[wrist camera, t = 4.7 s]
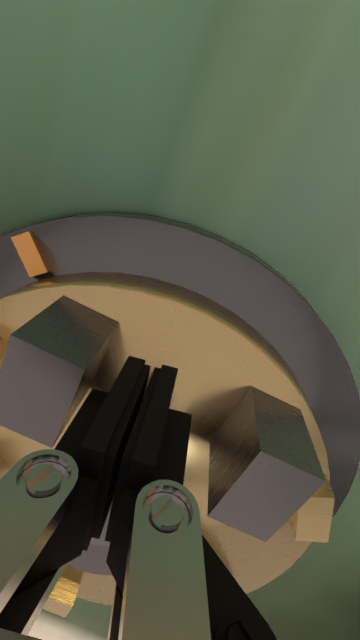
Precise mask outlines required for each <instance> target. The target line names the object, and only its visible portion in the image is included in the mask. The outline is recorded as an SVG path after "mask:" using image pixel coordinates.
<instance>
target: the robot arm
mask: <svg viewBox="0 0 360 640" xmlns="http://www.w3.org/2000/svg"><path fill="white" fill-rule="evenodd" d="M150 367H151V366H149V365H145V360H144V359H140V358H136V357H132V356H129V357H128V358H127V360H126V362H125V364H124V366H123V367H122V369H121V371H120V373H119V375H118V377H117V379H116V380H115V382H114V384H113V386H112V388H111V390H110V392H105V391H101V390H97V389H92V391H91V392H90V393H89V395H88V396H87V398H86V400H85V401H84V403H83V404H82V406H81V408H80V409H79V411H78V412H77V414H76V416H75V417H74V419H73V420H72V422H71V423H70V425H69V427H68V428H67V430H66V431H65V433H64V435H63V436H62V438H61V439H60V441H59V442H58V444H57V446H56V447H55V449H43V450H39V451H34V452H32V453H30V454H28V455H26V456H24V457H23V458H22V459H20V460H19V461H18V462H17V463H16V464H15V465H14V466H13V467H12V468H11V469H10V470H9V471H8V472H7V473H6V474H5V475H4V476H3V477H2V478H1V479H0V640H41V639H37V638H33V637H30V636H27V635H28V633H29V631H30V630H31V628H32V626H33V624H34V622H35V621H36V619H37V617H38V615H39V614H40V612H41V610H42V608H43V606H44V605H45V603H46V601H47V599H48V598H49V596H50V594H51V592H52V590H53V589H54V587H55V585H56V583H57V582H58V580H59V578H60V576H61V575H62V572H63V570H64V567H65V565H66V563H68V562H70V561H72V560H73V559H75V558H77V557H79V556H80V555H81V554H82V551H83V550H84V551H87V549H88V547H89V544H90V541H91V539H92V537H93V538H96V539H99V538H100V536H101V533H102V530H103V527H104V524H105V522H106V519H107V516H108V513H109V510H110V507H111V504H112V507H111V512H110V517H109V522H108V526H107V531H106V536H105V541H108V542H110V546H109V550H108V555H107V559H106V563H107V565H108V567H109V569H110V571H111V573H112V575H113V577H114V579H115V581H116V583H115V587H114V594H113V602H112V609H111V617H110V625H109V632H108V640H279V639H277V638H276V637H275V635H274V633H273V632H272V630H271V628H270V627H269V625H268V623H267V622H266V621H265V619H264V618H263V617H262V615H261V614H260V613H259V611H258V610H257V608H256V607H255V606H254V604H253V603H252V602H251V600H250V599H249V598H248V596H247V595H246V593H245V592H244V591H243V589H242V588H241V587H240V585H239V584H238V583H237V581H236V580H235V578H234V577H233V576H232V574H231V573H230V572H229V570H228V569H227V568H226V566H225V565H224V563H223V562H222V561H221V559H220V558H219V557H218V555H217V554H216V553H215V551H214V550H213V548H212V547H211V546H210V544H209V543H208V542H207V540H206V539H205V538H204V536H203V535H202V531H201V520H200V511H199V507H198V503H197V501H196V499H195V497H194V496H193V494H192V493H191V492H190V491H189V490H188V489H187V488H186V487H185V486H183V483H184V475H185V467H186V459H187V451H188V443H189V435H190V428H191V420H192V414H189V413H185V412H181V411H177V410H173V409H170V408H169V407H170V402H171V398H172V394H173V389H174V385H175V381H176V377H177V372H178V368H175V367H171V366H167V365H163V364H162V367H161V368H157V367H155V368H154V370H153V373H152V376H151V379H150V381H149V384H148V387H147V390H146V385H147V381H148V376H149V372H150ZM145 390H146V392H145ZM144 394H145V395H144ZM112 501H113V502H112Z"/></svg>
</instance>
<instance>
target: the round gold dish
mask: <svg viewBox="0 0 360 640" xmlns="http://www.w3.org/2000/svg"><path fill="white" fill-rule="evenodd" d="M129 356H132V357H136V358H140V359H144V360H145V365H149V366H151V367H150V372H149V376H148V381H147V385H146V390H147V387H148V384H149V381H150V379H151V376H152V373H153V370H154V368H155V367H157V368H161V367H162V364H163V365H167V366H171V367H175V368H178V372H177V377H176V381H175V385H174V389H173V394H172V398H171V402H170V407H169V408H170V409H173V410H177V411H181V412H185V413H189V414H192V420H191V428H190V435H189V443H188V451H187V459H186V467H185V475H184V483H183V486H185V487H186V488H187V489H188V490H189V491H190V492H191V493H192V494H193V496H194V497H195V499H196V501H197V503H198V507H199V511H200V520H201V531H202V535H203V536H204V538H205V539H206V540H207V542H208V543H209V544H210V546H211V547H212V548H213V550H214V551H215V553H216V554H217V555H218V557H219V558H220V559H221V561H222V562H223V563H224V565H225V566H226V568H227V569H228V570H229V572H230V573H231V574H232V576H233V577H234V578H235V580H236V581H237V583H238V584H239V585H240V587H241V588H242V589H243V591H244V592H245V593H246V594H248V593H250V592H252V591H255V590H257V589H259V588H260V587H262V586H264V585H266V584H267V583H269V582H271V581H273V580H274V579H276V578H277V577H278V576H280V575H281V574H282V573H283V572H285V571H286V570H287V569H289V568H290V567H291V566H292V565H293V564H294V563H295V562H296V561H297V560H298V559H299V558H300V557H301V556H302V555H303V553H304V552H305V551H306V549H307V548H308V547H309V545H310V544H311V542H325V543H328V540H329V534H330V527H331V521H332V514H333V508H334V501H335V497H334V494H333V491H332V488H331V486H330V473H329V466H328V459H327V452H326V449H325V446H324V443H323V440H322V437H321V434H320V431H319V428H318V425H317V423H316V420H315V418H314V415H313V413H312V410H311V408H310V405H309V403H308V400H307V398H306V396H305V393H304V391H303V390H302V388H301V386H300V384H299V382H298V380H297V378H296V376H295V374H294V372H293V371H292V370H291V368H290V367H289V366H288V364H287V363H286V362H285V360H284V359H283V358H282V356H281V355H280V353H279V352H278V351H277V350H276V349H275V348H274V347H273V346H272V345H271V344H270V343H269V342H268V341H267V340H266V339H265V338H264V337H263V336H262V335H261V334H260V333H259V332H258V331H257V330H256V329H255V328H253V327H252V326H251V325H249V324H248V323H247V322H245V321H244V320H243V319H242V318H240V317H239V316H238V315H236V314H235V313H233V312H232V311H230V310H228V309H227V308H225V307H223V306H221V305H220V304H218V303H216V302H215V301H213V300H211V299H209V298H207V297H205V296H203V295H200V294H198V293H196V292H193V291H191V290H189V289H186V288H184V287H181V286H179V285H175V284H172V283H168V282H165V281H161V280H158V279H154V278H151V277H145V276H139V275H132V274H125V273H119V272H83V273H74V274H66V275H59V276H55V277H51V278H47V279H43V280H39V281H36V282H32V283H30V284H28V285H25V286H23V287H21V288H19V289H16V290H14V291H12V292H9V293H8V294H6V295H4V296H2V297H0V479H1V478H2V477H3V476H4V475H5V474H6V473H7V472H8V471H9V470H10V469H11V468H12V467H13V466H14V465H15V464H16V463H17V462H18V461H19V460H20V459H22V458H23V457H24V456H26V455H28V454H30V453H32V452H34V451H39V450H43V449H55V447H56V446H57V444H58V442H59V441H60V439H61V438H62V436H63V435H64V433H65V431H66V430H67V428H68V427H69V425H70V423H71V422H72V420H73V419H74V417H75V416H76V414H77V412H78V411H79V409H80V408H81V406H82V404H83V403H84V401H85V400H86V398H87V396H88V395H89V393H90V392H91V391H92V389H97V390H101V391H105V392H110V390H111V388H112V386H113V384H114V382H115V380H116V379H117V377H118V375H119V373H120V371H121V369H122V367H123V366H124V364H125V362H126V360H127V358H128V357H129ZM146 390H145V392H146ZM144 395H145V394H144ZM112 502H113V501H112ZM111 507H112V504H111ZM111 507H110V510H109V513H108V516H107V519H106V522H105V524H104V527H103V530H102V533H101V536H100V538H99V539H96V538H93V537H92V539H91V541H90V544H89V547H88V549H87V551H84V550H83V551H82V554H81V555H80V556H79V557H77V558H75V559H73V560H72V561H70V562H68V563H66V565H65V567H64V570H63V572H62V575H61V576H60V578H59V580H58V582H57V583H56V585H55V587H54V589H53V590H52V592H51V594H50V596H49V598H48V599H47V601H46V603H45V605H44V606H43V608H42V609H44V610H47V611H49V612H52V613H54V614H57V615H59V616H62V617H64V618H65V617H66V616H67V614H68V613H69V611H70V610H71V608H72V606H73V604H74V601H75V598H76V597H77V598H81V599H84V600H88V601H91V602H95V603H100V604H105V605H110V606H112V602H113V594H114V587H115V583H116V581H115V579H114V577H113V575H112V573H111V571H110V569H109V567H108V565H107V563H106V559H107V555H108V550H109V546H110V542H108V541H105V536H106V531H107V526H108V522H109V517H110V512H111Z"/></svg>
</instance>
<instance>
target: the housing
mask: <svg viewBox="0 0 360 640" xmlns="http://www.w3.org/2000/svg"><path fill="white" fill-rule="evenodd" d="M83 272H119V273H125V274H132V275H139V276H145V277H151V278H154V279H158V280H161V281H165V282H168V283H172V284H175V285H179V286H181V287H184V288H186V289H189V290H191V291H193V292H196V293H198V294H200V295H203V296H205V297H207V298H209V299H211V300H213V301H215V302H216V303H218V304H220V305H221V306H223V307H225V308H227V309H228V310H230V311H232V312H233V313H235V314H236V315H238V316H239V317H240V318H242V319H243V320H244V321H245V322H247V323H248V324H249V325H251V326H252V327H253V328H255V329H256V330H257V331H258V332H259V333H260V334H261V335H262V336H263V337H264V338H265V339H266V340H267V341H268V342H269V343H270V344H271V345H272V346H273V347H274V348H275V349H276V350H277V351H278V352H279V353H280V355H281V356H282V358H283V359H284V360H285V362H286V363H287V364H288V366H289V367H290V368H291V370H292V371H293V372H294V374H295V376H296V378H297V380H298V382H299V384H300V386H301V388H302V390H303V391H304V393H305V396H306V398H307V400H308V403H309V405H310V408H311V410H312V413H313V415H314V418H315V420H316V423H317V425H318V428H319V431H320V434H321V437H322V440H323V443H324V446H325V449H326V452H327V459H328V466H329V473H330V486H331V488H332V491H333V494H334V497H335V501H334V508H333V514H332V517H333V516H334V515H335V513H336V512H337V510H338V509H339V507H340V506H341V504H342V502H343V501H344V499H345V497H346V496H347V494H348V492H349V490H350V487H351V485H352V482H353V480H354V477H355V474H356V472H357V468H358V463H359V458H360V401H359V394H358V391H357V388H356V385H355V382H354V379H353V376H352V373H351V370H350V367H349V365H348V363H347V361H346V359H345V357H344V355H343V353H342V352H341V350H340V348H339V346H338V344H337V342H336V340H335V338H334V337H333V335H332V334H331V333H330V331H329V330H328V329H327V327H326V326H325V324H324V323H323V322H322V320H321V319H320V318H319V316H318V315H317V314H316V312H315V311H314V310H313V308H312V307H311V306H310V305H309V303H308V302H307V301H306V299H305V298H304V297H303V296H302V295H301V294H300V293H299V292H298V291H297V290H296V289H295V288H294V287H293V286H292V285H291V284H290V283H289V282H288V281H287V280H286V279H285V278H284V277H283V276H282V275H281V274H280V273H278V272H277V271H276V270H274V269H273V268H272V267H270V266H269V265H268V264H266V263H265V262H263V261H262V260H261V259H259V258H258V257H257V256H255V255H254V254H253V253H251V252H249V251H247V250H245V249H243V248H242V247H240V246H238V245H236V244H234V243H232V242H231V241H229V240H227V239H225V238H223V237H221V236H219V235H216V234H214V233H211V232H208V231H206V230H203V229H200V228H198V227H195V226H192V225H190V224H187V223H183V222H178V221H174V220H170V219H165V218H161V217H156V216H152V215H141V214H130V213H119V212H113V213H93V214H80V215H75V216H70V217H65V218H60V219H55V220H50V221H46V222H42V223H38V224H33V225H30V226H27V227H25V228H22V229H19V230H16V231H14V232H11V233H8V234H6V235H3V236H0V297H2V296H4V295H6V294H8V293H9V292H12V291H14V290H16V289H19V288H21V287H23V286H25V285H28V284H30V283H32V282H36V281H39V280H43V279H47V278H51V277H55V276H59V275H66V274H74V273H83Z"/></svg>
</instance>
